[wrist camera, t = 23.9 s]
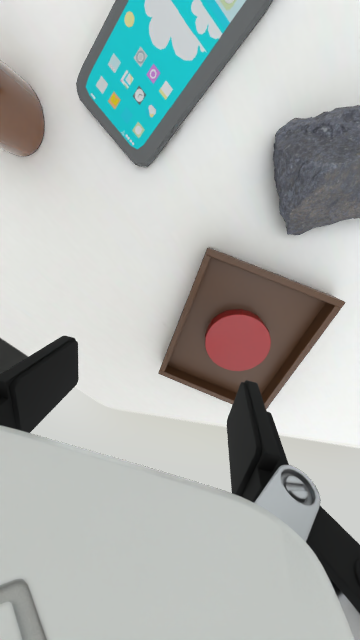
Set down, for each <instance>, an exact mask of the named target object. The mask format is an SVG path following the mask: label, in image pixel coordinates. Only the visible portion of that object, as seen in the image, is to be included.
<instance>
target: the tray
mask: <svg viewBox="0 0 360 640" xmlns="http://www.w3.org/2000/svg"><path fill="white" fill-rule="evenodd" d="M344 304H345V302H344V301H342V300H340V299H338V298H336V297H333V296H331V295H328V294H326V293H323V292H321V291H318V290H316V289H313V288H311V287H308V286H306V285H303V284H300V283H298V282H295V281H293V280H290V279H288V278H285V277H283V276H280V275H278V274H275V273H273V272H270V271H267V270H265V269H262V268H260V267H257V266H255V265H252V264H250V263H247V262H245V261H242V260H240V259H237V258H234V257H232V256H229V255H227V254H224V253H222V252H219V251H217V250H214V249H212V248H207V250H206V253H205V255H204V258H203V261H202V263H201V266H200V268H199V271H198V273H197V276H196V278H195V281H194V284H193V286H192V289H191V291H190V294H189V296H188V299H187V301H186V304H185V307H184V309H183V312H182V314H181V317H180V319H179V322H178V325H177V327H176V330H175V332H174V335H173V337H172V340H171V342H170V345H169V348H168V350H167V353H166V355H165V358H164V360H163V363H162V365H161V368H160V371H159V374H161V375H163V376H166V377H168V378H170V379H173V380H175V381H178V382H180V383H182V384H185V385H187V386H190V387H192V388H194V389H197V390H199V391H202V392H204V393H206V394H209V395H211V396H214V397H216V398H218V399H221V400H223V401H226V402H228V403H230V404H233V403H234V400H235V397H236V395H237V392H238V389H239V386H240V384H241V382H245V381H246V380H248V381H252V382H256V383H257V384H258V387H259V390H260V393H261V396H262V399H263V402H264V405H265V408H266V409H267V407H268V406H269V405H270V403H271V402H272V401H273V399H274V398H275V397H276V395H277V394H278V393H279V391H280V390H281V389H282V387H283V386H284V385H285V383H286V382H287V381H288V379H289V378H290V377H291V375H292V374H293V372H294V371H295V370H296V368H297V367H298V366H299V364H300V363H301V362H302V360H303V359H304V358H305V356H306V355H307V354H308V352H309V351H310V350H311V348H312V347H313V346H314V344H315V343H316V342H317V340H318V339H319V338H320V336H321V335H322V333H323V332H324V331H325V329H326V328H327V327H328V325H329V324H330V323H331V321H332V320H333V319H334V317H335V316H336V315H337V313H338V312H339V311H340V309H341V308H342V307H343V305H344ZM233 309H243V310H246V311H249V312H252V313H254V314H255V315H258V317H259V318H260V319H261V320H262V321H263V323H264V324H265V326H266V327H267V329H268V330H269V334H270V338H271V346H270V350H269V353H268V355H267V357H266V358H265V359H264V360H263V361H262V362H261V363H260V364H259V365H257V366H256V367H253V368H251V369H248V370H244V371H232V370H227V369H224V368H222V367H220V366H219V365H217V364H216V363H214V362H213V361H212V359H211V358H210V357H209V355H208V353H207V351H206V347H205V339H206V338H205V333H206V332H207V328H208V326H209V324H210V322H211V320H213V319H214V318H215V317H216V316H217V315H219V314H220V313H222V312H224V311H228V310H233Z"/></svg>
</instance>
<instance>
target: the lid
mask: <svg viewBox="0 0 360 640" xmlns="http://www.w3.org/2000/svg"><path fill="white" fill-rule="evenodd" d="M205 338H206V339H205V347H206V351H207V353H208V355H209V357H210V358H211V359H212V361H213V362H214V363H216V364H217V365H219V366H220V367H222V368H224V369H227V370H232V371H244V370H248V369H251V368H253V367H256V366H257V365H259V364H260V363H261V362H262V361H263V360H264V359H265V358H266V357H267V355H268V353H269V350H270V346H271V338H270V334H269V330H268V329H267V327H266V326H265V324H264V323H263V321H262V320H261V319H260V318H259V317H258V315H255V314H254V313H252V312H249V311H246V310H243V309H233V310H228V311H224V312H222V313H220V314H219V315H217V316H216V317H215V318H214V319H213V320H211V322H210V324H209V326H208V328H207V332H206V333H205Z"/></svg>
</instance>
